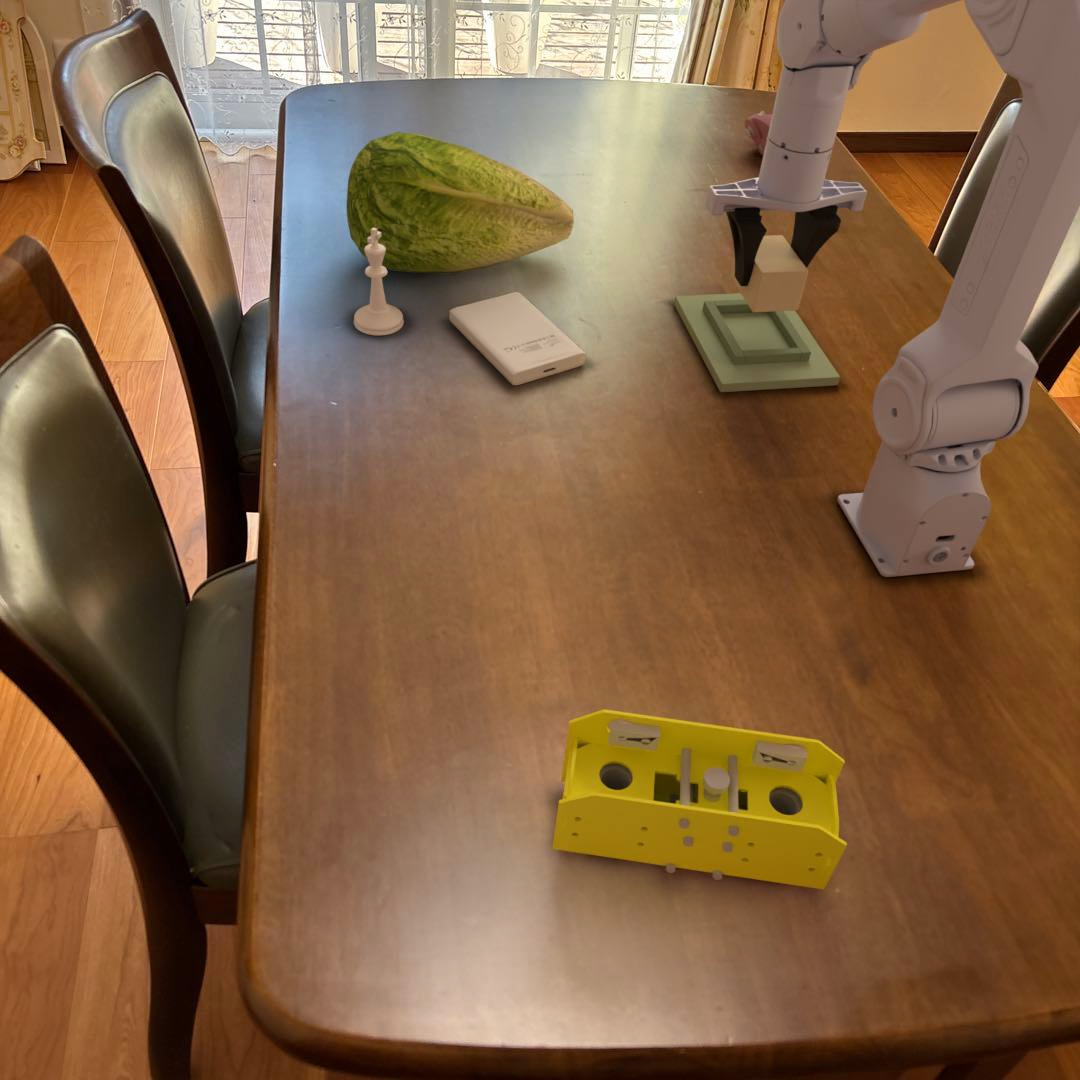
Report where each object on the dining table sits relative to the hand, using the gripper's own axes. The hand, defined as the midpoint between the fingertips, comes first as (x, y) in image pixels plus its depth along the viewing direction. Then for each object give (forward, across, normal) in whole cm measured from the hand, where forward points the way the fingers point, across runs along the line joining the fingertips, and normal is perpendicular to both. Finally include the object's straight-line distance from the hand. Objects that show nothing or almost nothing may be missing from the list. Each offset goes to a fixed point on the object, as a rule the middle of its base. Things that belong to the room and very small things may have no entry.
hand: (766, 280), depth 99 cm
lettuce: (+7, +27, -19) cm, 34 cm away
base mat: (+7, 0, 0) cm, 7 cm away
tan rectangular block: (+1, 0, 0) cm, 1 cm away
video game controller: (+7, -18, -43) cm, 47 cm away
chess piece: (+7, +37, -7) cm, 38 cm away
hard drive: (+7, +24, -2) cm, 25 cm away
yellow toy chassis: (+7, +23, +53) cm, 58 cm away
